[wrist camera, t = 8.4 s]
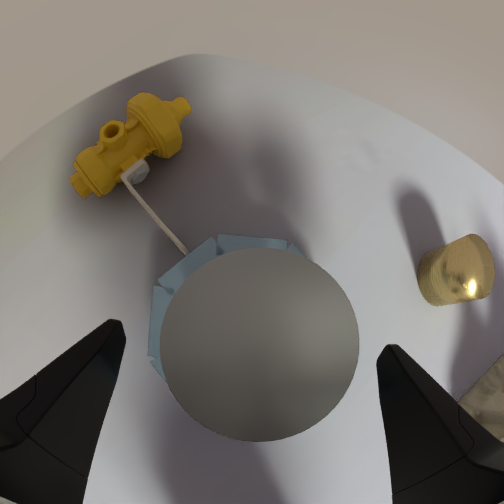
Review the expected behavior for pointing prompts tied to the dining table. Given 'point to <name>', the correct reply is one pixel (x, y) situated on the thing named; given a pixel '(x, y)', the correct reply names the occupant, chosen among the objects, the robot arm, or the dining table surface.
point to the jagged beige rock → (488, 400)
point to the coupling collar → (189, 266)
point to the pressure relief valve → (132, 149)
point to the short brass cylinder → (457, 272)
